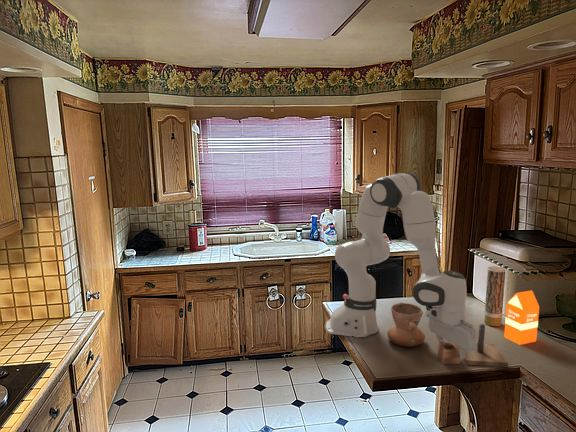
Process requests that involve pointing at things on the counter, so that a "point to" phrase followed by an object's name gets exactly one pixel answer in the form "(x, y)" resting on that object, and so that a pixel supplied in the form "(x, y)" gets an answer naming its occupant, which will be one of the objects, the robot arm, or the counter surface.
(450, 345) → the bead
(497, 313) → the paper tube
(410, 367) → the counter surface
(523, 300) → the orange juice
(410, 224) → the robot arm
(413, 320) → the ceramic jug
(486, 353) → the peg stand
